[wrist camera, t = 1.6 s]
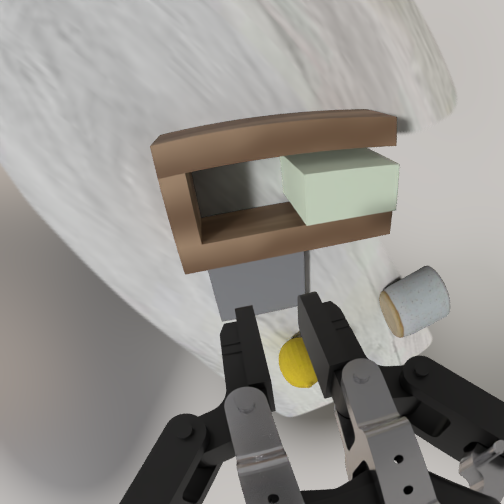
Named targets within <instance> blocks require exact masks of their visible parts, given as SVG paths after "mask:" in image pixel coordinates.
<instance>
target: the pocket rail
mask: <svg viewBox="0 0 504 504" xmlns="http://www.w3.org/2000/svg"><path fill="white" fill-rule="evenodd" d="M396 140H397V117H395V116H391V115H387V114H384V113H380V112H376V111H372V110H367V109H355V110H327V111H311V112H298V113H287V114H277V115H269V116H260V117H253V118H246V119H239V120H233V121H226V122H221V123H215V124H209V125H204V126H199V127H194V128H189V129H184V130H180V131H175V132H171V133H167V134H162V135H160V136H159V137H158V138H157V139H156V140H155V141H154V142H153V144H152V145H151V146H150V148H151V152H152V157H153V161H154V165H155V169H156V173H157V177H158V181H159V185H160V189H161V193H162V196H163V200H164V204H165V208H166V211H167V215H168V219H169V222H170V226H171V229H172V233H173V236H174V239H175V243H176V246H177V250H178V253H179V256H180V259H181V263H182V266H183V269H184V272H185V274H190V273H195V272H200V271H206V270H211V269H216V268H221V267H226V266H232V265H237V264H242V263H247V262H252V261H257V260H262V259H267V258H273V257H278V256H283V255H288V254H293V253H298V252H303V251H308V250H313V249H318V248H323V247H328V246H333V245H337V244H342V243H347V242H352V241H357V240H362V239H367V238H372V237H377V236H381V235H386V234H390V227H391V218H392V211H389V212H383V213H377V214H371V215H365V216H360V217H354V218H348V219H342V220H337V221H331V222H326V223H320V224H315V225H309V226H306V224H305V223H304V221H303V220H302V218H301V217H300V216H299V214H298V213H297V211H296V210H295V208H294V207H293V206H292V204H291V203H290V202H285V203H279V204H273V205H268V206H262V207H256V208H251V209H245V210H240V211H235V212H229V213H224V214H219V215H214V216H209V217H204V218H201V215H200V210H199V206H198V201H197V197H196V192H195V187H194V183H193V178H192V173H191V172H193V171H198V170H203V169H208V168H213V167H218V166H224V165H229V164H235V163H241V162H247V161H253V160H259V159H266V158H273V157H280V156H287V155H295V154H303V153H311V152H320V151H330V150H341V149H353V148H366V147H382V146H396V142H397V141H396Z"/></svg>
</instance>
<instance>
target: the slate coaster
mask: <svg viewBox="0 0 504 504" xmlns="http://www.w3.org/2000/svg"><path fill="white" fill-rule="evenodd" d="M208 272H209V276H210V280H211V284H212V287H213V291H214V295H215V298H216V302H217V306H218V309H219V313H220V316H221V320H222V322H223V321H228V320H233V319H236V314H235V308H240V307H245V306H250V305H253V309H254V313H255V315H259V314H263V313H268V312H273V311H278V310H282V309H287V308H291V307H296V306H298V301H297V297H298V295H302V294H305V272H304V251H303V252H298V253H293V254H288V255H283V256H278V257H273V258H267V259H262V260H257V261H252V262H247V263H242V264H237V265H232V266H226V267H221V268H216V269H211V270H208Z"/></svg>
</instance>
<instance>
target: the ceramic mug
mask: <svg viewBox="0 0 504 504" xmlns="http://www.w3.org/2000/svg"><path fill="white" fill-rule="evenodd" d="M379 301H380V306H381V309H382V312H383V315H384V318H385V320H386V322H387V324H388V326H389V328H390V330H391V331H392V333H393V334H394V335H395V336H397V337H399V338H401V337H405V336H408V335H411V334H414V333H416V332H417V331H419V330H421V329H423V328H425V327H427V326H429V325H431V324H433V323H435V322H437V321H438V320H440V319H442V318H444V317H446V316H447V315H448V314H449V312H450V298H449V294H448V291H447V289H446V286H445V284H444V282H443V280H442V279H441V277H440V276H439V275H438V273H437V272H436V271H435V270H434V269H433V268H431V267H429V266H424V267H422V268H420V269H419V270H417V271H415V272H414V273H412V274H410V275H408V276H406V277H405V278H403V279H401V280H399V281H398V282H396V283H394V284H392V285H390V286H389V287H387V288H386V289H384V290H383V291H382V292H381V294H380V297H379Z"/></svg>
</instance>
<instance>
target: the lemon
mask: <svg viewBox="0 0 504 504" xmlns="http://www.w3.org/2000/svg"><path fill="white" fill-rule="evenodd" d="M279 366H280V370H281V372H282V374H283V376H284V377H285V379H286V380H287V381H288V382H289V383H290V384H291V385H293V386H295V387H299V388H306V387H307V388H310V387H311V386H312V385H314V384H315V383H316V382H317V381H318V379H317V377H316V374H315V371H314V369H313V366H312V363H311V360H310V358H309V355H308V352H307V350H306V347H305V344H304V342H303V339H302V338H301V337H299V338H293V339H291V340H289V341H287V342H286V343H285V344H284V345H283V347H282V348H281V350H280V353H279Z"/></svg>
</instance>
